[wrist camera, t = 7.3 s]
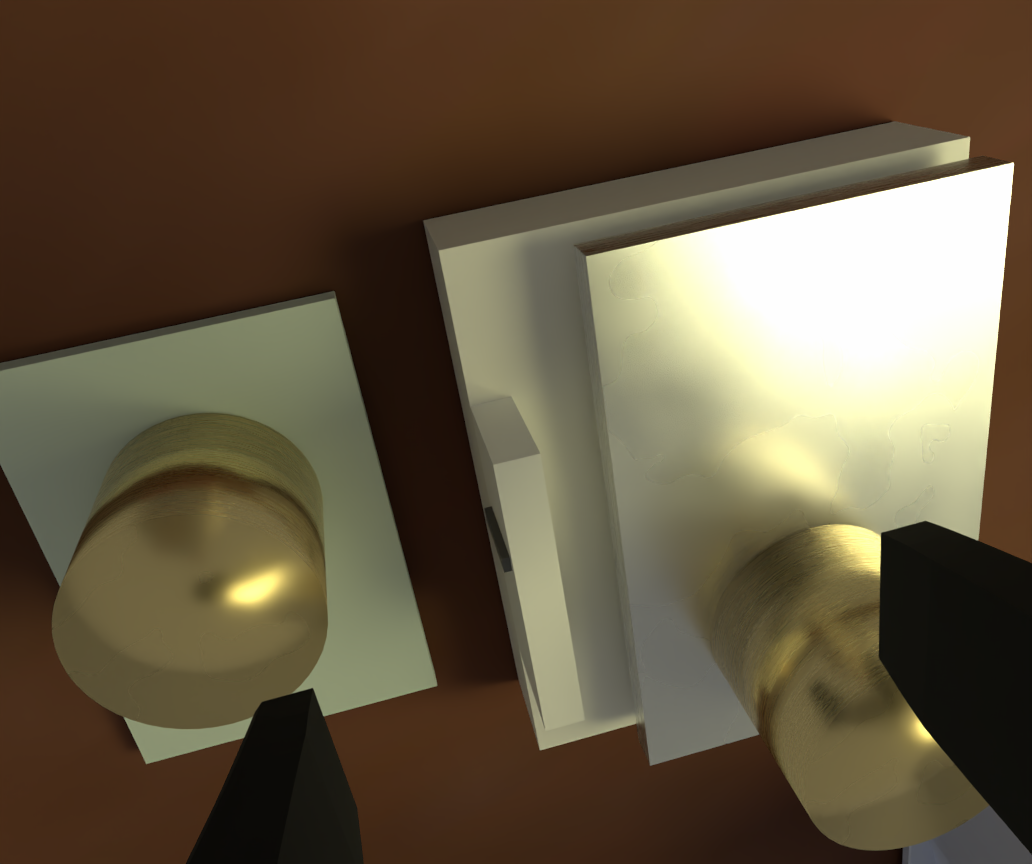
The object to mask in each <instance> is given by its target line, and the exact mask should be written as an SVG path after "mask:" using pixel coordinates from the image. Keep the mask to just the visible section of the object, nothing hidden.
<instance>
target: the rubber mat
mask: <svg viewBox="0 0 1032 864" xmlns="http://www.w3.org/2000/svg"><path fill="white" fill-rule="evenodd" d="M196 413H222V414H230V415H236V416H241V417H245V418H248V419H251V420H254V421H257V422H259V423H262V424H264V425H266V426H268V427H270V428H272V429H274V430H275V431H277V432H279V433H280V434H282V435H283V436H285V437H286V438H287V439H288V440H290V441H291V442H292V443H293V444H294V445H295V446H296V447H297V448H298V449H299V450H300V451H301V452H302V453H303V454H304V456H305V457H306V458H307V460H308V461H309V462H310V464H311V466H312V468H313V469H314V471H315V473H316V475H317V478H318V481H319V484H320V487H321V492H322V497H323V520H324V542H325V565H326V588H327V611H328V629H327V638H326V641H325V645H324V648H323V651H322V653H321V656H320V658H319V660H318V662H317V664H316V666H315V667H314V669H313V670H312V672H311V673H310V675H309V676H308V677H307V678H306V680H305V681H304V682H303V683H302V684H301V685H300V686H299V687H298V688H297V689H296V690H295V691H294V692H293V693H296V692H300V691H303V690H307V689H311V688H313V689H314V692H315V694H316V697H317V700H318V703H319V705H320V708H321V711H322V714H323V716H327V715H330V714H334V713H338V712H342V711H345V710H349V709H353V708H356V707H360V706H364V705H368V704H371V703H375V702H379V701H383V700H386V699H390V698H394V697H397V696H401V695H405V694H409V693H412V692H416V691H420V690H424V689H427V688H431V687H435V686H437V681H436V676H435V671H434V667H433V663H432V660H431V656H430V652H429V648H428V644H427V641H426V637H425V633H424V629H423V625H422V622H421V618H420V614H419V610H418V606H417V603H416V599H415V595H414V591H413V587H412V584H411V580H410V576H409V572H408V568H407V565H406V561H405V557H404V553H403V550H402V546H401V542H400V538H399V534H398V531H397V527H396V523H395V519H394V515H393V512H392V508H391V504H390V500H389V496H388V493H387V489H386V485H385V481H384V477H383V474H382V470H381V466H380V462H379V458H378V455H377V451H376V447H375V443H374V439H373V436H372V432H371V428H370V424H369V420H368V417H367V413H366V409H365V405H364V401H363V398H362V394H361V390H360V386H359V382H358V379H357V375H356V371H355V367H354V363H353V360H352V356H351V352H350V348H349V344H348V341H347V337H346V333H345V329H344V326H343V322H342V318H341V314H340V310H339V307H338V303H337V299H336V295H335V291H332V292H327V293H322V294H318V295H313V296H308V297H304V298H299V299H295V300H290V301H285V302H281V303H276V304H271V305H267V306H262V307H258V308H253V309H248V310H244V311H239V312H234V313H230V314H225V315H220V316H216V317H211V318H207V319H202V320H197V321H193V322H188V323H183V324H179V325H174V326H170V327H165V328H160V329H156V330H151V331H146V332H142V333H137V334H133V335H128V336H123V337H119V338H114V339H109V340H105V341H100V342H96V343H91V344H86V345H82V346H77V347H72V348H68V349H63V350H58V351H54V352H49V353H45V354H40V355H35V356H31V357H26V358H21V359H17V360H12V361H8V362H3V363H0V465H1V467H2V469H3V471H4V473H5V475H6V477H7V479H8V481H9V483H10V485H11V487H12V489H13V492H14V494H15V496H16V498H17V500H18V502H19V504H20V506H21V508H22V510H23V512H24V514H25V516H26V518H27V520H28V522H29V524H30V526H31V528H32V530H33V532H34V535H35V537H36V539H37V541H38V543H39V545H40V547H41V549H42V551H43V553H44V555H45V557H46V559H47V561H48V563H49V565H50V567H51V569H52V571H53V573H54V576H55V578H56V580H57V582H58V584H59V586H61V584H62V581H63V579H64V576H65V574H66V571H67V569H68V566H69V564H70V561H71V559H72V556H73V554H74V551H75V549H76V547H77V544H78V542H79V539H80V537H81V534H82V532H83V529H84V527H85V524H86V522H87V519H88V517H89V514H90V512H91V509H92V507H93V505H94V502H95V500H96V497H97V495H98V492H99V490H100V487H101V485H102V482H103V480H104V477H105V475H106V473H107V471H108V469H109V467H110V465H111V463H112V461H113V460H114V459H115V457H116V456H117V454H118V453H119V452H120V450H121V449H122V448H123V447H124V446H125V445H126V444H127V443H128V442H129V441H131V440H132V439H133V438H135V437H136V436H137V435H138V434H140V433H141V432H143V431H145V430H146V429H148V428H150V427H152V426H153V425H156V424H158V423H161V422H163V421H165V420H168V419H172V418H175V417H179V416H183V415H190V414H196ZM252 718H253V717H251V718H249V719H246V720H243V721H239V722H236V723H233V724H229V725H224V726H219V727H213V728H203V729H173V728H163V727H157V726H152V725H147V724H144V723H140V722H137V721H133V720H130V719H128V718H125V717H124V719H125V721H126V723H127V725H128V727H129V729H130V731H131V733H132V735H133V737H134V739H135V741H136V744H137V746H138V748H139V750H140V752H141V754H142V756H143V758H144V760H145V762H146V764H148V763H152V762H155V761H159V760H163V759H166V758H170V757H174V756H178V755H181V754H185V753H189V752H193V751H196V750H200V749H204V748H207V747H211V746H215V745H219V744H222V743H226V742H230V741H234V740H237V739H241V738H244V737H245V735H246V732H247V730H248V727H249V725H250V723H251V720H252Z"/></svg>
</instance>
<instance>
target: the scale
mask: <svg viewBox="0 0 1032 864" xmlns="http://www.w3.org/2000/svg"><path fill="white" fill-rule="evenodd" d="M969 145H970V137H968V136H963V135H958V134H953V133H948V132H944V131H939V130H934V129H929V128H924V127H920V126H915V125H910V124H905V123H900V122H890V123H885V124H880V125H876V126H871V127H866V128H861V129H857V130H852V131H847V132H842V133H837V134H833V135H828V136H823V137H818V138H814V139H809V140H804V141H799V142H795V143H790V144H785V145H780V146H775V147H771V148H766V149H761V150H756V151H752V152H747V153H742V154H737V155H733V156H728V157H723V158H718V159H713V160H709V161H704V162H699V163H694V164H690V165H685V166H680V167H675V168H671V169H666V170H661V171H656V172H651V173H647V174H642V175H637V176H632V177H628V178H623V179H618V180H613V181H608V182H604V183H599V184H594V185H589V186H585V187H580V188H575V189H570V190H566V191H561V192H556V193H551V194H546V195H542V196H537V197H532V198H527V199H523V200H518V201H513V202H508V203H504V204H499V205H494V206H489V207H484V208H480V209H475V210H470V211H465V212H461V213H456V214H451V215H446V216H442V217H437V218H432V219H427V220H423V223H424V227H425V232H426V237H427V242H428V247H429V252H430V256H431V261H432V266H433V271H434V276H435V280H436V285H437V290H438V295H439V300H440V304H441V309H442V314H443V319H444V324H445V328H446V333H447V338H448V343H449V348H450V352H451V357H452V362H453V367H454V372H455V377H456V381H457V386H458V391H459V396H460V401H461V405H462V410H463V415H464V420H465V425H466V429H467V434H468V439H469V444H470V449H471V453H472V458H473V463H474V468H475V473H476V477H477V482H478V487H479V492H480V497H481V502H482V506H483V511H484V516H485V521H486V526H487V530H488V535H489V540H490V545H491V550H492V554H493V559H494V564H495V569H496V574H497V578H498V583H499V588H500V593H501V598H502V603H503V607H504V612H505V617H506V622H507V627H508V631H509V636H510V641H511V646H512V651H513V655H514V660H515V665H516V670H517V675H518V679H519V683H520V687H521V690H522V693H523V696H524V700H525V703H526V706H527V709H528V713H529V716H530V719H531V723H532V726H533V729H534V732H535V736H536V739H537V742H538V745H539V749H540V750H543V749H547V748H551V747H554V746H558V745H561V744H565V743H568V742H572V741H576V740H579V739H583V738H586V737H590V736H593V735H597V734H601V733H604V732H608V731H611V730H615V729H618V728H622V727H626V726H629V725H633V724H636V717H635V710H634V702H633V695H632V687H631V679H630V672H629V664H628V657H627V649H626V642H625V634H624V626H623V619H622V611H621V604H620V596H619V589H618V581H617V573H616V566H615V558H614V551H613V543H612V536H611V528H610V520H609V513H608V505H607V498H606V490H605V483H604V475H603V467H602V460H601V452H600V445H599V437H598V430H597V422H596V414H595V407H594V399H593V392H592V384H591V377H590V369H589V361H588V354H587V346H586V339H585V331H584V324H583V316H582V308H581V301H580V293H579V286H578V278H577V271H576V263H575V255H574V248H573V244H577V243H582V242H587V241H591V240H596V239H600V238H605V237H610V236H614V235H619V234H624V233H628V232H633V231H637V230H642V229H647V228H651V227H656V226H660V225H665V224H670V223H674V222H679V221H684V220H688V219H693V218H697V217H702V216H707V215H711V214H716V213H720V212H725V211H730V210H734V209H739V208H744V207H748V206H753V205H757V204H762V203H767V202H771V201H776V200H780V199H785V198H790V197H794V196H799V195H803V194H808V193H813V192H817V191H822V190H827V189H831V188H836V187H840V186H845V185H850V184H854V183H859V182H863V181H868V180H873V179H877V178H882V177H887V176H891V175H896V174H900V173H905V172H910V171H914V170H919V169H923V168H928V167H933V166H937V165H942V164H947V163H951V162H956V161H960V160H965V159H969Z"/></svg>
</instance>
